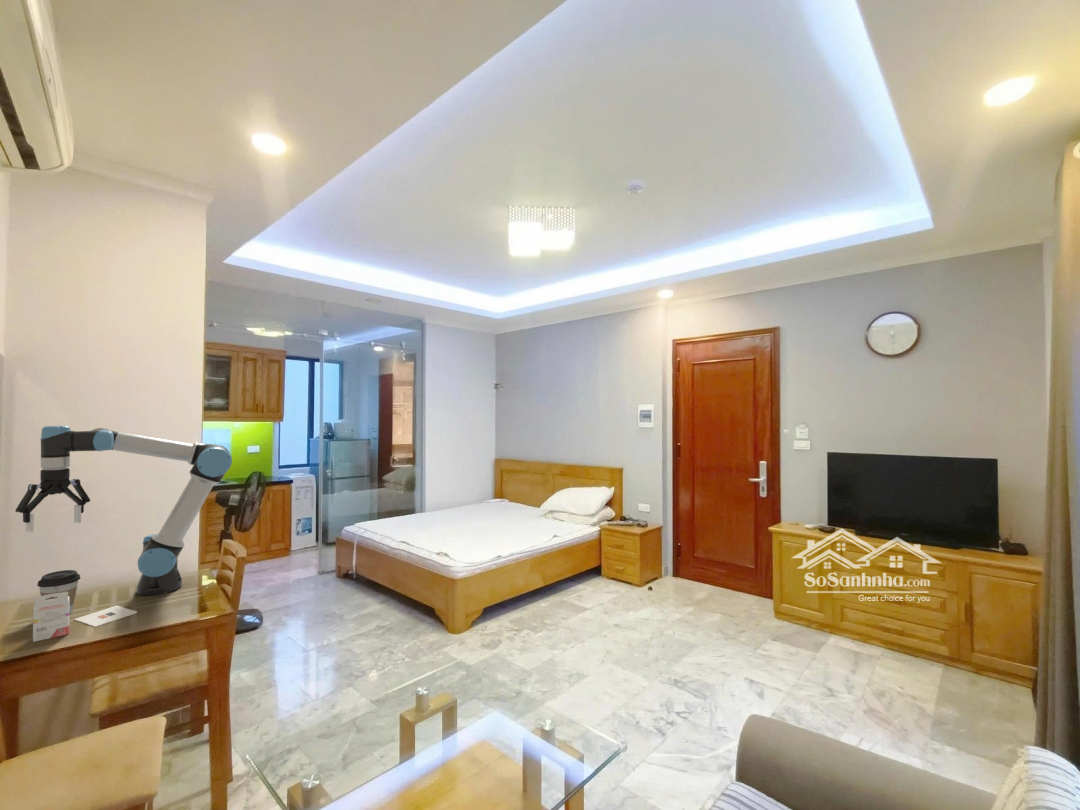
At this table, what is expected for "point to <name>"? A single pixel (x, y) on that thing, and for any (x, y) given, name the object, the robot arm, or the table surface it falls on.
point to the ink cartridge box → (50, 616)
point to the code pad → (105, 616)
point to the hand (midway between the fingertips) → (54, 526)
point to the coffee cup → (60, 585)
